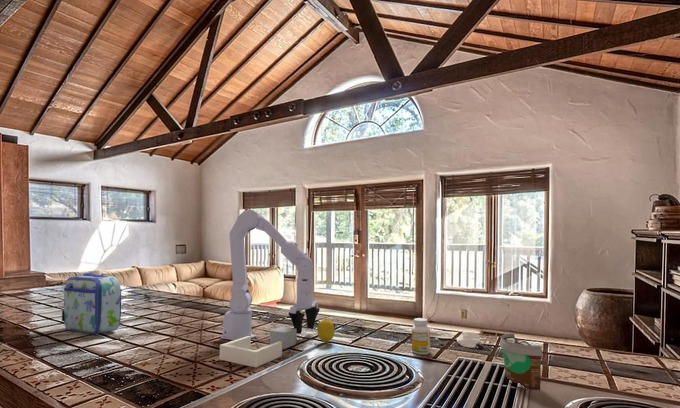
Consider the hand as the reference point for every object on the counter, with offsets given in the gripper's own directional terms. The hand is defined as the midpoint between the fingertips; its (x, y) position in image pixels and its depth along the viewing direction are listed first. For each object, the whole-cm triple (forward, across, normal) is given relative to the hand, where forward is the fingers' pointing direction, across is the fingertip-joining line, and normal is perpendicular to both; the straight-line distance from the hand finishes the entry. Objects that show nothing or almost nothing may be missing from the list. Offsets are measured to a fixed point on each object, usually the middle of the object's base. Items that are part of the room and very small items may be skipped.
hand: (304, 330), depth 132 cm
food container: (+2, -10, -68) cm, 69 cm away
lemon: (+2, -4, -11) cm, 12 cm away
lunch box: (+2, -32, +74) cm, 81 cm away
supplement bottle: (+2, +2, -41) cm, 41 cm away
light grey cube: (+2, -12, 0) cm, 12 cm away
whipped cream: (+2, +18, -52) cm, 55 cm away
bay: (+2, -27, 0) cm, 27 cm away
